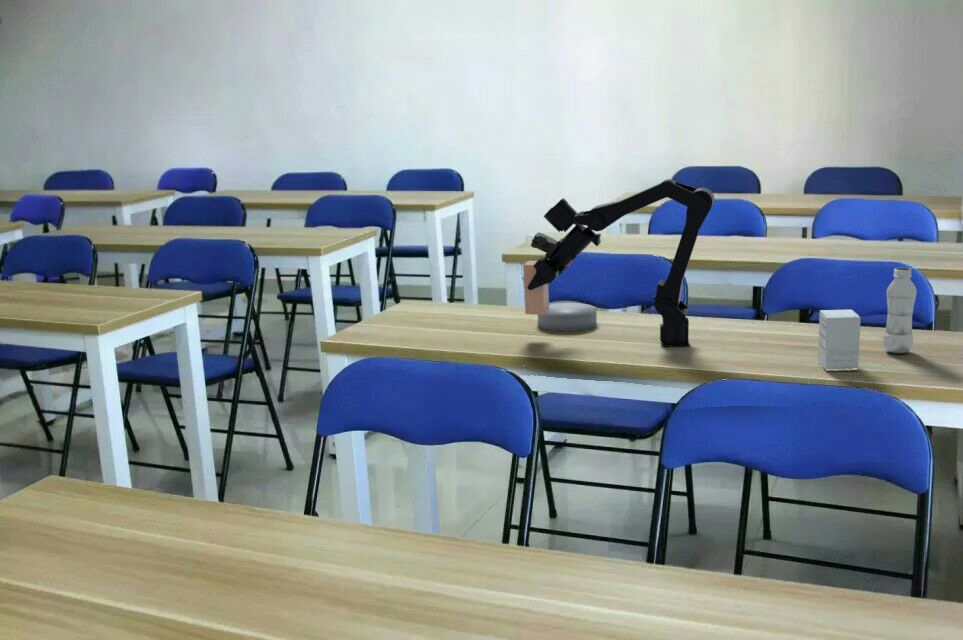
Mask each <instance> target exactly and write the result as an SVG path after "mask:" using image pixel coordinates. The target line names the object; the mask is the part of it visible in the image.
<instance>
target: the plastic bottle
mask: <svg viewBox="0 0 963 640" xmlns="http://www.w3.org/2000/svg"><path fill="white" fill-rule="evenodd" d="M892 275H893V276H892V277H894V279H893V280H892V281H891V282H890V284H889V285H888V286H887V288H886V301H887V319H886V325H885V332H884V334H883V338H882V347H883V349H884V350H885V352H888V353H893V354H906V353H908V352H910V351H911V350H912V348H913V344H914V337H913V322H912V321H913V314H914V306H915V302H916V297H917V293H918V292H917V288H916V286H915V284H914V283H913V282H912V280H911V278H912V277H913V276H912V268H910V267H895V268H894V269H893V274H892Z"/></svg>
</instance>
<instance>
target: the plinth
mask: <svg viewBox="0 0 963 640" xmlns="http://www.w3.org/2000/svg"><path fill="white" fill-rule="evenodd" d="M597 309H598V308H597V307H596V306H594V305H591V304H586V303H578V302H559V303H551V304H550V303H549V310H548V311H547V312H546V313H545V315H537V326H538V327H539V328H541V329H544V330H547V331H552V332H579V331H585V330H590V329H592V328H594V327H596V326H597V325H598V324H597V321H598V320H597V316H598V315H597V314H598V313H597V311H598V310H597Z"/></svg>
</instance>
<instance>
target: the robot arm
mask: <svg viewBox="0 0 963 640" xmlns="http://www.w3.org/2000/svg"><path fill="white" fill-rule="evenodd" d="M666 198H668V199H671V200H673V201H674V202H677V203H679V205H680V204H681V205H683V206H685V207H687V208H686V213H685V224H684V228H683V230H682V234H681V237H680V239H679V242H678V246H677V249H676V251H675V254H674V258H673V261H672V264H671V267H670V270H669V273H668V275H667V278H666V280H663V279H660V280H659V282H658V284H657V286H656V291H655V292H656V293H655V294H654V296H653V297H652V300H653V301H654V304H653V306H654V309H655V311H656V312H657V313H658V314H659V315H661V318H662V323H660V324H659V340H660V341H659V342H660V343H661V344H662V347H690V341H689V333H690V332H689V331H690V329H689V325H690V324H689V323H690V322H689V321H690V320H689V318H688V317H687V315H688V313H689V310H690V307H689V306H688V305H687V304H685V302H683V300H682V299H681V298H682V294H683V293H682V292H683V282H684V278H685V275H686V271H687V269H688V266H689V262H690V259H691V257H692V254H693V251H694V248H695V246H696V245H695V244H696V241H697V239H698V236H699V233H700V230H701V227H702V225H703V224H704V222H705V220H706V218H707V217H708V214H709V213H710V211H711V209H712V207H713V205H714V203H715V195H714V193H713V191H712V190H710V189H709V188H706V187H699V188H696V187H694V186H691V185H687V184H684V183H680V182H677V181H676V180H674V179H672V178H668V179H664V180H663V181H662V182H660V183H658V184H655V185H652V186H651V187H648V188H645V189H643V190H641V191H639V192H638V193H637V192H636V193H634V194H632V195H630V196H628V197H625V198H623V199H620V200H617V201H616V200H615V201H612V202H611V201H610V202H607V203H602V204H598V205H596V206H594V207H593V208H591V209H590V210H585V211H583V210H581V211H579V212H577V211H576V210H575V209H574V208H573V207H572V206H571V205H570V203H569V202H568V201H567V200H566V199H565V198H564V197H563V198H561V199H560V200H559V201H558V202H557V203H556V204H555V205H554V206H552V207H550V208H549V210H548V211H547V212H546V213H545V214H544V215H543V217H544V219H546V221H547V222H548V223H549V224H550V225H551V226H552V227H553V228H554V229H555V230H556V231H557V232H558V233H560V232H561V233H562V232H564V233H566V232H567V231H569V229H571V230H570V231H569V232H568V233H567V234H566V235H565V236H564V237H563V238H560V239H559V240H556V239H555V238H553V237H551V236H549V235H547V234H544V233H543V232H539V231H538V232H536V233H535V235H534V236H533V238H532V239H531V243H530V247H532V248H534V249H537V250H538V251H541V252H543V253H545V254H544V257H541V258H539V259H538V260H536V261H537V262H536V263H535V264H534V265H533V266H534V268H535V269H536V274H535V275H534V277H533V279H532V280H531V282H530V283H529V285H528V287H527V288H528V289H529V290H533V289H535V288H537V287H540V286H542V285H545V284H547V283H548V284H552V283H553V282H554V281H555V280H556V279H557V278H558V277H559V276H560V275H562V273H563V271H564V272H565V271H566V270H568V268H569V267H570V266H572V262H573V261H574V260H575V259H576V258H577V257H579V255H580V254H581V253H582V252H583V251H584V250H585V249H586V248H587V247H588V246H589V245H590V244H591V243H592V244H593V245H595V246H596V247H598V246H599V245H600V244H601V241H602V240H601V235H602V234H601V233H596V232H602V231H603V230H605V229H607V228H608V227H609V226H611V225H612V224H615V222H616V221H618V220H620V219H621V218H623V217H624V216H626V215H629V214H631V213H633V212H636V211H638V210H640V209H643V208H645V207H647V206H649V205H652V204H654V203H657V202H658V201H661V200H663V199H666ZM572 226H573V227H572ZM571 227H572V228H571Z"/></svg>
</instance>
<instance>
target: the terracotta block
mask: <svg viewBox="0 0 963 640" xmlns="http://www.w3.org/2000/svg"><path fill="white" fill-rule="evenodd" d="M537 261H538V260H527V261H526V262H525V263H523V267H522V268H523V269H522V270H523V288H524V289H523V290H524V311H525V312H524V314H525V315H535V316H536V315H537V316H538V315H545V313H546V312H547V311H548V310H549V305H550V300H549V283H547V284H545V285H542V286H540V287H537V288H535V289H533V290H529V289H528V288H527V287H528V285H529V283H530V282H531V280H532V279H533V277H534V275H535V274H536V269H535V268H534V266H533V265H534V264H535V263H536V262H537Z"/></svg>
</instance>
